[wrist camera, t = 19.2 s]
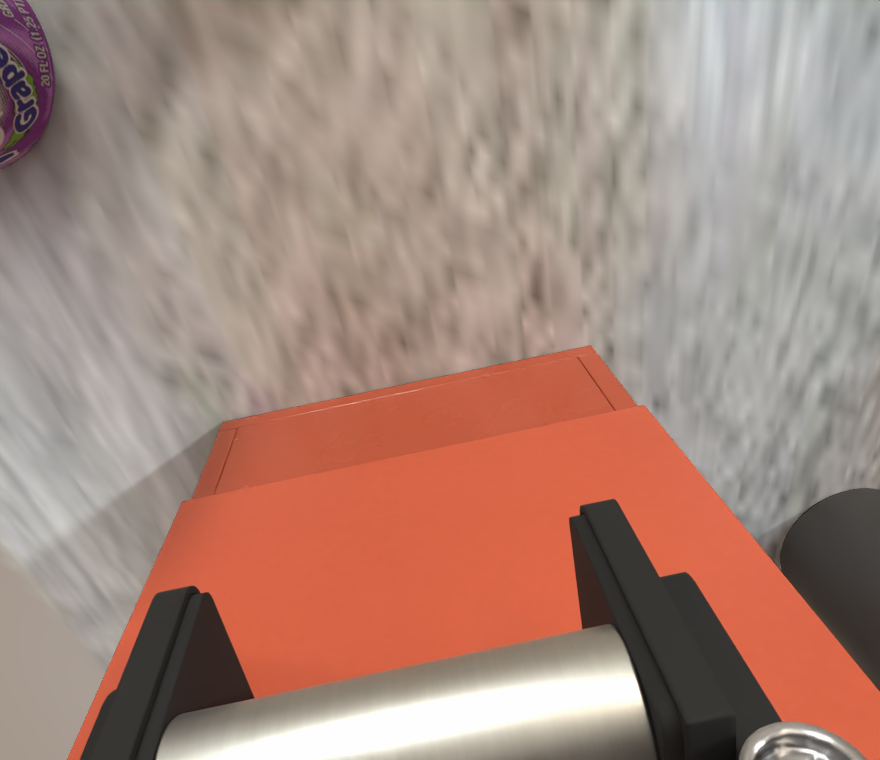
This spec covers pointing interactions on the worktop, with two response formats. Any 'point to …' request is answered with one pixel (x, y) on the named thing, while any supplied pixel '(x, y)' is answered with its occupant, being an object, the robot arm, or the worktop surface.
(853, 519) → the mug
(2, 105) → the beverage can
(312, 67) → the worktop surface
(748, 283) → the worktop surface
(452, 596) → the lid
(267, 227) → the worktop surface
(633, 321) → the worktop surface
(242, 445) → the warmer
